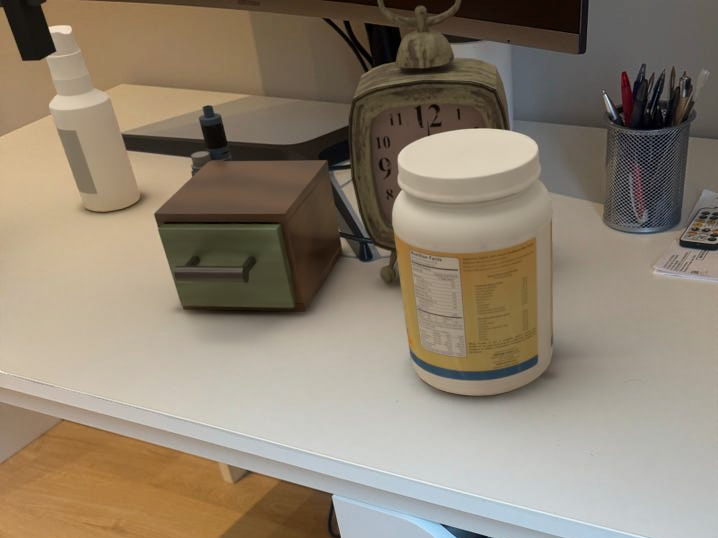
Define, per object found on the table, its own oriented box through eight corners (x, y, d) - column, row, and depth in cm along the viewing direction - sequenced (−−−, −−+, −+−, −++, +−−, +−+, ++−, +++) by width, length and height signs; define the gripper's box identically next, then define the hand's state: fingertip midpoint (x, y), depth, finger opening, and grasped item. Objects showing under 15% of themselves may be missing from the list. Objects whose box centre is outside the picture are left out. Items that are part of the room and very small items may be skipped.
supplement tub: (446, 323, 83) (427, 119, 71) (572, 340, 79) (575, 128, 67) (387, 389, 75) (354, 174, 63) (523, 412, 72) (516, 187, 60)
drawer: (280, 327, 82) (262, 247, 77) (165, 325, 84) (139, 246, 79) (330, 252, 94) (316, 178, 88) (226, 252, 95) (207, 178, 90)
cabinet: (305, 311, 87) (285, 213, 80) (182, 309, 88) (153, 213, 82) (342, 252, 96) (327, 160, 89) (231, 251, 98) (208, 161, 91)
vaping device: (252, 222, 103) (224, 104, 95) (219, 239, 100) (187, 119, 92) (236, 218, 104) (207, 102, 96) (203, 235, 101) (170, 116, 93)
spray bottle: (106, 190, 114) (49, 20, 101) (152, 193, 112) (99, 21, 99) (72, 210, 109) (8, 36, 97) (119, 214, 108) (60, 37, 95)
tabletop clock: (368, 292, 89) (321, -18, 71) (377, 254, 95) (335, -40, 77) (516, 284, 88) (505, -32, 70) (514, 246, 94) (504, -52, 76)
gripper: (-259, -394, 53) (-62, 71, 69) (-60, -417, 51) (94, 67, 67) (-175, -385, 58) (-10, 45, 75) (10, -407, 56) (136, 41, 73)
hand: (39, 55), depth 71 cm, fingers closed
